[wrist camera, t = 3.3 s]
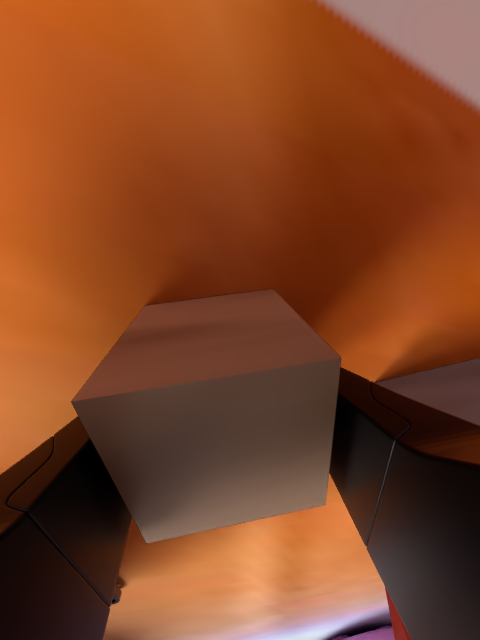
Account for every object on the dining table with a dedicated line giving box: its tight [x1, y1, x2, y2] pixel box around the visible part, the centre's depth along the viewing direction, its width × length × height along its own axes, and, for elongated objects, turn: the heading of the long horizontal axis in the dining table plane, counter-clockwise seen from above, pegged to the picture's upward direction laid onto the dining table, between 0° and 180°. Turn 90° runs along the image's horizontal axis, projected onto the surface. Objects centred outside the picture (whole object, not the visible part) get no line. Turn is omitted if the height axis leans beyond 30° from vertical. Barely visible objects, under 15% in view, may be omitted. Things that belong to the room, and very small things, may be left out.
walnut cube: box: [71, 289, 341, 543], centre depth 7 cm, size 5×5×5 cm
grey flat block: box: [375, 358, 480, 425], centre depth 12 cm, size 8×8×4 cm
